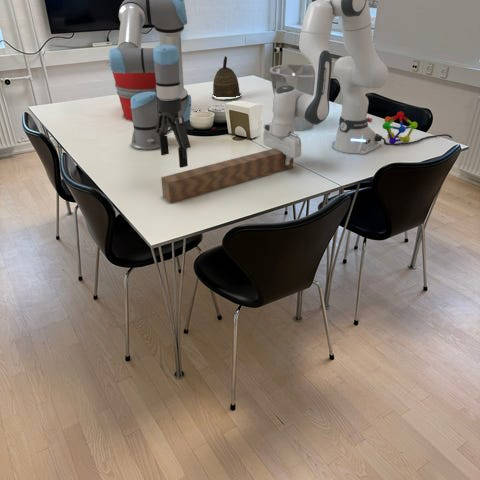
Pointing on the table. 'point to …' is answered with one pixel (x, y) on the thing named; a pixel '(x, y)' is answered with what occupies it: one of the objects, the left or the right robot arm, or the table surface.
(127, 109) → the bucket
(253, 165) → the beam
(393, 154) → the table surface
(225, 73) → the bell
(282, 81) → the bucket
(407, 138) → the educational toy
